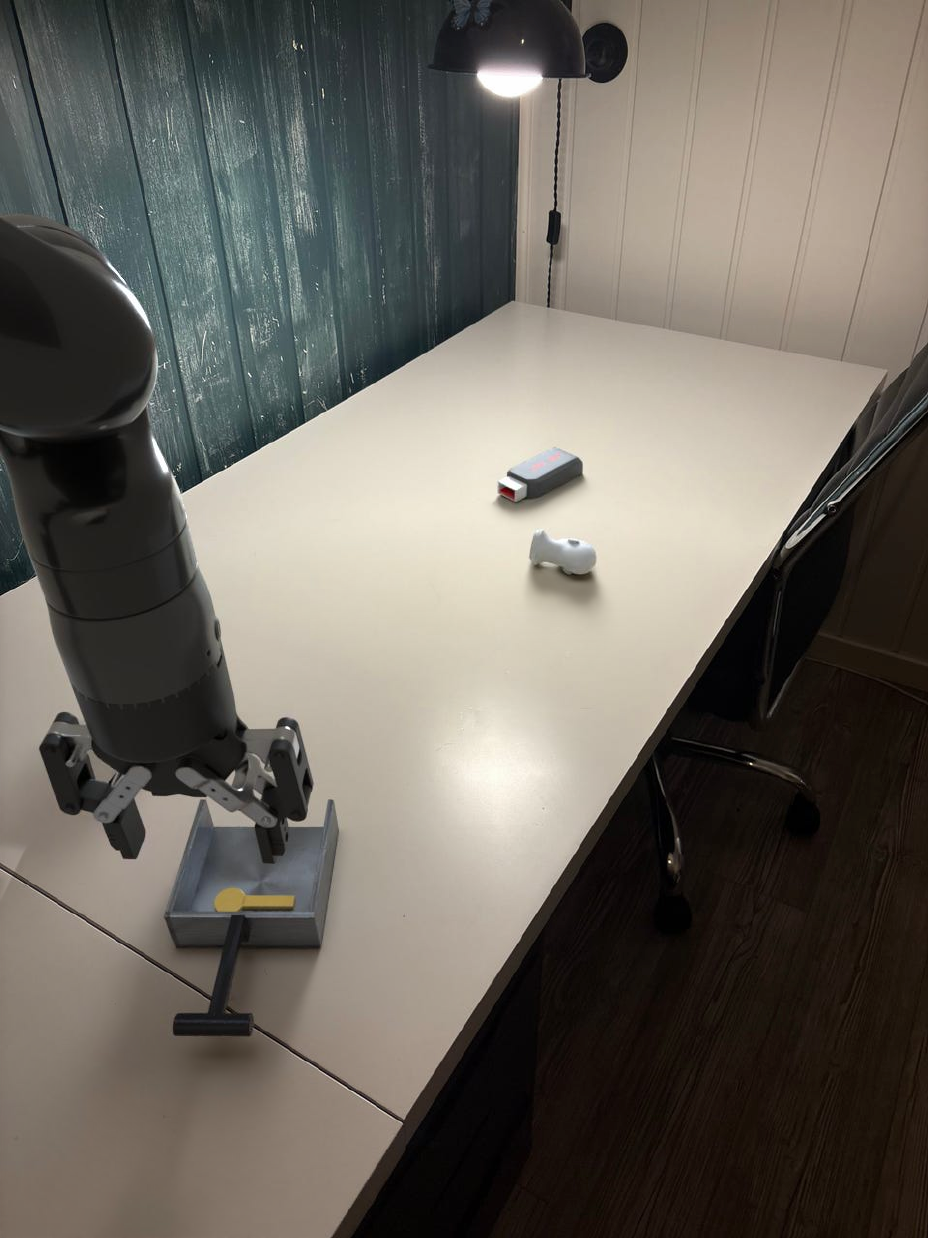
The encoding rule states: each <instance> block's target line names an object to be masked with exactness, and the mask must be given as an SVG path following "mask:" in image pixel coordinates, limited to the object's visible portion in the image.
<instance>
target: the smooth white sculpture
mask: <svg viewBox="0 0 928 1238" xmlns="http://www.w3.org/2000/svg"><path fill="white" fill-rule="evenodd" d="M544 529H545V528H544ZM544 529H540V530H535V531H534V533H533V536H532V539H531V543H530V547H529V555H528V559H529V560H530V561H531V562H532V563H533V565H534V566H537V565H538V564H540V563H550V564H554V565H557V566H560V567H562V571H563V572H564V573H565V574H567V575H572V574H574V575H575V574H576V575H586V574H588V573H590V572H591V571H592V570H593V569H594V567H595V565H596V563H597V552H596V550H595V548H594V547H593V546H592V545H591V544H590V543H588V542H586V541H583V540H580V539H577V538H571V537H570V538H561V539H554V538H552V537H550V536H549V535H548V534H547V532H546V531H545V530H544Z"/></svg>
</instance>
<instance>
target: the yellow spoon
mask: <svg viewBox="0 0 928 1238" xmlns="http://www.w3.org/2000/svg"><path fill="white" fill-rule="evenodd" d="M294 904H295V896H258V895H245V894H244V893H243V891H241V890H240V889H238V888H228V889H225V890H223V891H221V892H220V893H219V894H218V895H217V896H216V898H215V901H214V907H215V910H216V912H241V911H242V910H243V909H294Z"/></svg>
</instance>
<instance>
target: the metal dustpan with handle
mask: <svg viewBox="0 0 928 1238" xmlns="http://www.w3.org/2000/svg"><path fill="white" fill-rule="evenodd" d="M207 801H208V800H207V799H206V798H204V799H203V798H200V799H199V802H198V805H197V807H196V812H195V814H194V818H193V822H192V824H191V828H190V831H189V835H188V838H187V841H186V844H185V848H184V852H183V855H182V857H181V860H180V864H179V867H178V871H177V874H176V876H175V880H174V882H173V887H172V890H171V892H170V896H169V899H168V902H167V906H166V909H165V912H164V916H163V918H164V921H165V923H166V927H167V929H168V931H169V934H170V937H171V939H172V942H173V945H174V947H175V948H178V949H180V948H181V949H183V948H188V949H189V948H194V949H195V948H200V949H203V948H204V949H206V948H208V949H222V952H221V956H220V961H219V964H218V968H217V973H216V976H215V981H214V985H213V989H212V993H211V997H210V1001H209V1005H208V1009H207V1010H208V1011H207V1012H177V1013H176V1014H175V1016H174V1019H173V1021H172V1034H173V1036H175V1037H230V1038H231V1037H236V1038H237V1037H243V1038H244V1037H245V1038H247V1037H248V1038H250V1037H252V1035H253V1032H254V1027H255V1016H254V1013H252V1012H227V1008H228V1004H229V1000H230V995H231V991H232V985H233V981H234V977H235V973H236V968H237V963H238V959H239V955H240V951H241V949H321V948H322V947H323V939H324V933H325V924H326V919H327V918H326V917H327V912H328V905H329V901H330V900H329V899H330V891H331V887H332V885H331V884H332V879H333V874H334V873H333V872H334V867H335V859H336V852H337V846H338V839H339V833H340V827H339V822H338V815H337V810H336V809H337V808H336V803H335V799H330V798H328V799H327V803H326V810H325V815H324V822H323V826H289V830H290V833H289V837H288V841H287V846H286V850H285V852H284V855H283V856H278V857H277V861H276V863H275V864H266V863H263V862H262V858H261V854H260V849H259V845H258V841H257V837H256V833H255V829H254V827H255V826H215V825H214V822H213V819H212V815H211V811H210V809H209V804H208V802H207ZM228 888H238V889H240V890H241V891H243V893H244V894H245V895H258V896H295V904H294V909H243V910H242V911H241V912H216V910H215V907H214V901H215V898H216V896H217V895H218V894H219V893H220V892H221V891H223V890H225V889H228Z"/></svg>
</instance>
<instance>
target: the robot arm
mask: <svg viewBox="0 0 928 1238" xmlns="http://www.w3.org/2000/svg"><path fill="white" fill-rule="evenodd" d="M158 373H159V353H158V347H157V342H156V337H155V333H154V329H153V325H152V323H151V322H150V319H149V317H148V315H147V312H146V311H145V309H144V307H143V305H142V304H141V302H140V301H139V299H138V298H137V297H136V295H135V294H134V292H133V291H132V289H130V287H129V285H128V284H127V283H126V281H125V280H124V279H123V278H122V277H121V275H120V274H119V271H117V270H116V268H115V267H114V265H113V263H111V261H110V260H109V259H108V258H107V257H106V255H105V254H104V253H103V252H102V251H101V250H100V248H98V247H97V246H96V244H94V243H93V242H92V241H91V240H89V238H87V237H86V236H85V235H83V234H82V233H80V232H78V231H77V230H75V229H74V228H72V227H70V226H68V225H67V224H64V223H61V222H59V221H57V220H55V219H52V218H48V217H44V216H41V215H36V214H30V213H29V214H28V213H14V214H6V215H0V456H1V458H2V461H3V464H4V466H5V470H6V472H7V475H8V479H9V483H10V487H11V492H12V498H13V502H14V508H15V512H16V517H17V522H18V525H19V530H20V533H21V536H22V540H23V542H24V546H25V549H26V552H27V555H28V557H29V560H30V562H31V565H32V567H33V571H34V573H35V575H36V578H37V581H38V584H39V587H40V589H41V591H42V595H43V596H44V600H45V603H46V607H47V612H48V616H49V617H48V618H49V622H50V628H51V633H52V636H53V639H54V642H55V645H56V648H57V651H58V653H59V657H60V659H61V662H62V665H63V666H64V669H65V672H66V674H67V677H68V680H69V683H70V685H71V689H72V691H73V694H74V696H75V699H76V702H77V704H78V706H79V709H80V712H81V715H82V717H83V720H84V723H85V724H80V722H79V719H78V717H77V716H76V715H75V714H74V713H71V712H69V711H60V712H59V713H57V714H56V716H55V718H54V719H53V722H52V723H51V725H50V727H49V729H48V730H47V732H46V734H45V736H44V737H43V739H42V741H41V743H40V745H39V748H38V750H39V753H40V756H41V759H42V762H43V765H44V767H45V771H46V774H47V777H48V780H49V782H50V785H51V788H52V791H53V793H54V796H55V799H56V802H57V805H58V808H59V810H60V811H61V812H62V813H64V814H66V815H68V816H78V815H79V814H80V813H81V811H83V812H88V813H91V814H92V817H93V819H94V820H96V821H97V822H98V823H101V825H102V827H103V830H104V832H105V835H106V836H107V839H108V842H109V845H110V846H111V847H112V848H113V849H114V850H115V851H117V852H119V853H120V855H121V857H122V859H123V860H137V859H138V857H139V854H140V852H141V850H142V847H143V845H144V842H145V839H146V835H147V834H146V833H147V831H146V828H145V824H144V822H143V819H142V816H141V813H140V810H139V808H138V805H137V803H136V800H135V798H136V796H137V795H138V794H139V792H140V791H141V790H144V791H146V792H148V793H151V796H152V797H169V796H176V795H181V796H187V797H192V798H207V797H209V798H210V799H211V800H212V801H213V802H215V803H216V804H218V805H219V806H221V807H222V808H223V809H224V810H226V811H227V812H230V813H235V812H237V811H239V812H241V813H242V814H243V815H245V816H246V817H247V818H248V819H250V820H251V821H253V822H254V826H253V827H254V829H255V833H256V837H257V841H258V845H259V849H260V854H261V858H262V862H263V863H266V864H275V863H276V861H277V857H278V856H283V855H284V852H285V850H286V846H287V841H288V837H289V833H290V830H289V827H290V826H289V822H288V820H290V821H292V822H298V823H299V822H303V821H305V820H306V819H307V816H308V813H309V812H308V811H309V808H308V807H309V803H310V799H311V794H312V792H313V790H314V785H315V782H314V778H313V775H312V771H311V766H310V764H309V759H308V755H307V752H306V747H305V744H304V740H303V736H302V733H301V729H300V725H299V722H298V721H297V720H296V719H294V718H292V717H289V716H283V717H281V718H279V719H278V720H277V722H276V726H275V728H249V727H248V725H247V724H246V723H245V722H244V721H243V720H242V719H241V717H240V716H239V714H238V713H237V707H236V701H235V695H234V694H235V693H234V691H233V686H232V685H233V684H232V682H231V677H230V673H229V668H228V664H227V660H226V655H225V651H224V647H223V642H222V632H221V631H222V629H221V623H220V619H219V618H218V617H217V615H216V612H215V607H214V604H213V600H212V596H211V593H210V591H209V588H208V586H207V583H206V580H205V578H204V576H203V574H202V571H201V568H200V565H199V561H198V559H197V555H196V550H195V546H194V542H193V538H192V533H191V529H190V525H189V521H188V516H187V512H186V508H185V504H184V500H183V497H182V493H181V491H180V488H179V486H178V483H177V481H176V478H175V475H174V473H173V470H172V468H171V466H170V465H169V463H168V461H167V459H166V457H165V456H164V455H165V454H163V452H162V450H161V448H160V446H159V443H158V441H157V439H156V436H155V433H154V430H153V429H154V428H153V426H152V421H151V417H150V413H149V409H148V403H149V402H150V400H151V397H152V395H153V393H154V390H155V387H156V384H157V380H158ZM90 750H92V752H93V754H94V755H95V756H96V758H98V759H99V760H101V761H102V762H103V763H105V764H106V765H108V766H109V767H110V768H112V769H113V770H114V772H113V773H112V775H111V776H110V777H109V779H108V780H107V782H106V781H101V780H98V779H96V775H95V772H94V768H93V765H92V762H91V759H90V755H89V752H90ZM262 764H263V765H264V766H263V768H262ZM233 772H234V777H233V780H232V783H231V784H230V783H229V782H227V781H226V780H228V778H229V777H230V776H231V774H233ZM271 772H272V774H273V777H272V776H271V775H270V774H269V773H271ZM254 791H255V792H257V794H259V795H260V798H259V797H257V796H256V795H255V792H254Z"/></svg>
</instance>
